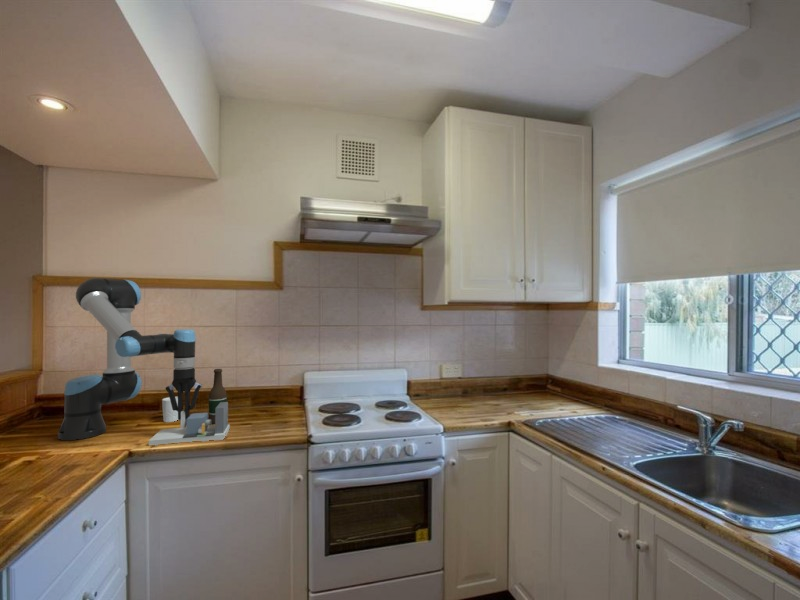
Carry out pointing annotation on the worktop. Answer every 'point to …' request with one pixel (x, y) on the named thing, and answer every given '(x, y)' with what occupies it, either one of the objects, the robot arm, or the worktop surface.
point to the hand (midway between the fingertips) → (183, 427)
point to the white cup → (169, 410)
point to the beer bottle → (216, 394)
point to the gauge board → (210, 433)
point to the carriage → (197, 423)
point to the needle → (203, 428)
